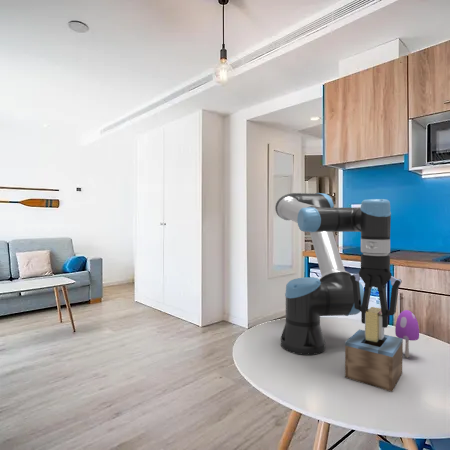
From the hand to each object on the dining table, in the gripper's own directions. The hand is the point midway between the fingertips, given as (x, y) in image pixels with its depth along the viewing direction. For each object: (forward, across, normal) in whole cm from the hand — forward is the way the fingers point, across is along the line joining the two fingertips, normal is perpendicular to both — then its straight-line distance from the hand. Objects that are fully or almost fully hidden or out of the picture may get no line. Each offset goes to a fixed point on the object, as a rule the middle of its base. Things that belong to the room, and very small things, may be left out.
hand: (374, 336), depth 91 cm
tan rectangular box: (0, 0, 0) cm, 1 cm away
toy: (+11, +5, +20) cm, 23 cm away
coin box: (+11, 0, 0) cm, 11 cm away
